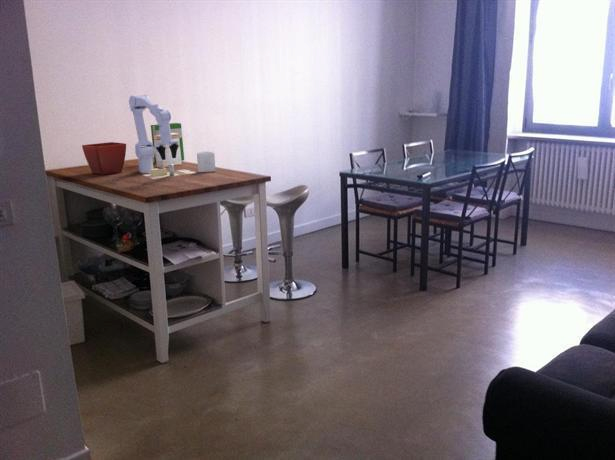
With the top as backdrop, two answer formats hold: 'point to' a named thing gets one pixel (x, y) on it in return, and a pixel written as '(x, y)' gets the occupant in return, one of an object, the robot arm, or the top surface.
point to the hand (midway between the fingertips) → (169, 158)
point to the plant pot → (105, 157)
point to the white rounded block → (206, 161)
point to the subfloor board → (177, 173)
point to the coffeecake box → (168, 152)
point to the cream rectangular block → (158, 171)
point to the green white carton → (174, 129)
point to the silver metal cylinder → (171, 169)
